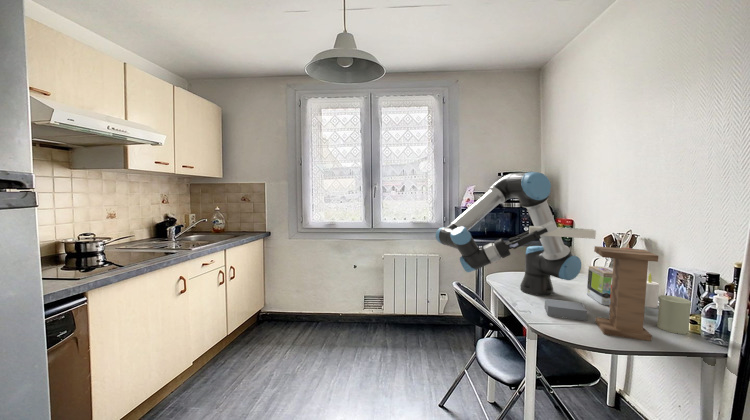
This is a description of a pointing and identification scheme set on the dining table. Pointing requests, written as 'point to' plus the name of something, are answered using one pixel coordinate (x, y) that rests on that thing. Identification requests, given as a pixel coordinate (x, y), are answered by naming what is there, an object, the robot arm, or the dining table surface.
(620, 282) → the walnut pedestal
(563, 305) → the charcoal platform
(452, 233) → the robot arm
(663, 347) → the dining table surface
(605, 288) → the tea box
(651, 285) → the candle
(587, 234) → the domino bar
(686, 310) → the can
